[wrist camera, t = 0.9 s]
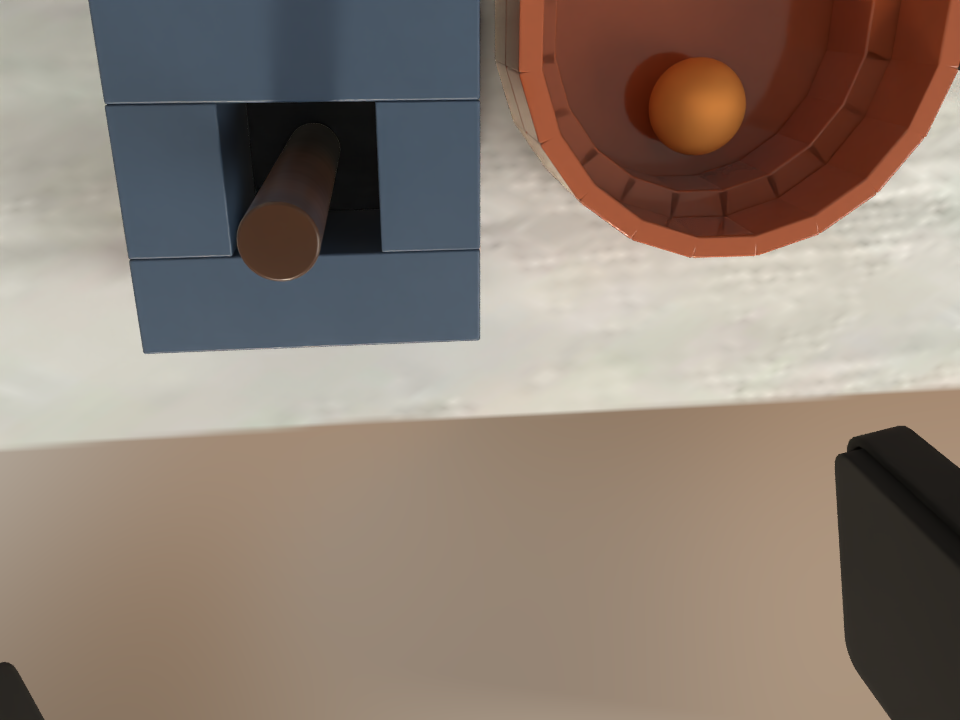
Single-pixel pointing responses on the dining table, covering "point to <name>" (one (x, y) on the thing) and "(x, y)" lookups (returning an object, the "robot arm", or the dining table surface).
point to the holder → (229, 175)
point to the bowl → (768, 116)
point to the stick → (291, 207)
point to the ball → (697, 106)
